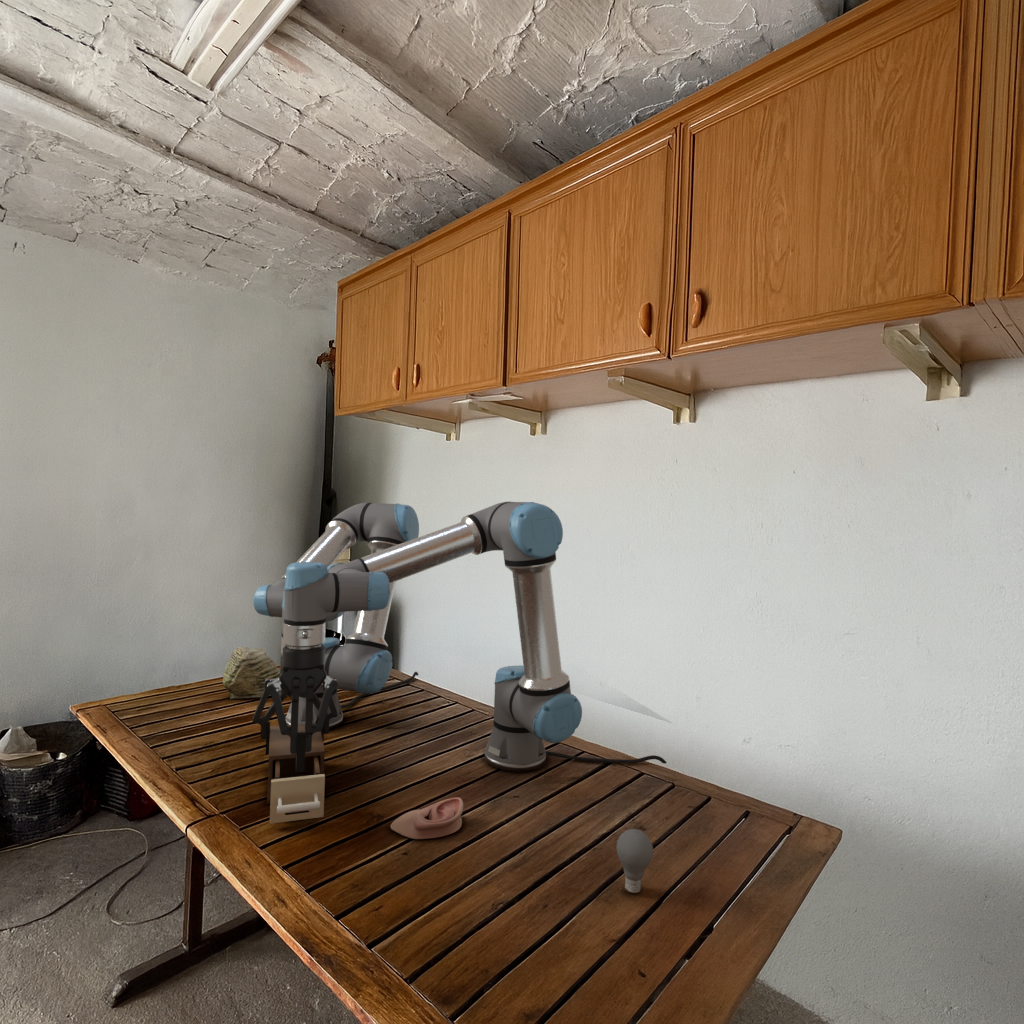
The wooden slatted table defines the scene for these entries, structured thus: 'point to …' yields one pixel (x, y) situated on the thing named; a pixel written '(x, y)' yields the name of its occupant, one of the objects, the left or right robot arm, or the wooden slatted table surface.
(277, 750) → the tall brown box
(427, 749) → the wooden slatted table surface
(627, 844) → the light bulb
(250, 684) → the fossil
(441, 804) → the anatomical model
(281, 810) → the drawer
